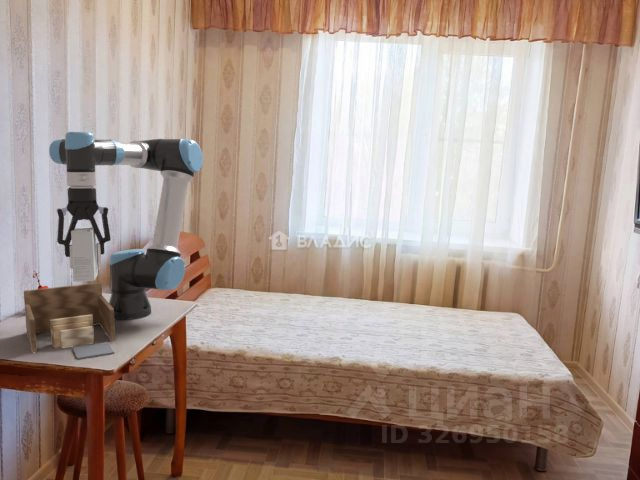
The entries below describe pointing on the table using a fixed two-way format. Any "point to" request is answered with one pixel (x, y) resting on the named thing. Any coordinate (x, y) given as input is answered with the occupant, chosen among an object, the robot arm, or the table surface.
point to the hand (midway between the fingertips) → (85, 266)
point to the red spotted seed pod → (38, 282)
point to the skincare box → (84, 254)
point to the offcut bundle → (72, 331)
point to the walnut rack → (66, 308)
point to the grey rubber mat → (93, 350)
